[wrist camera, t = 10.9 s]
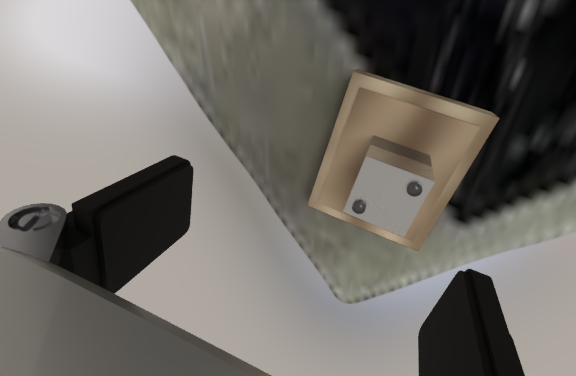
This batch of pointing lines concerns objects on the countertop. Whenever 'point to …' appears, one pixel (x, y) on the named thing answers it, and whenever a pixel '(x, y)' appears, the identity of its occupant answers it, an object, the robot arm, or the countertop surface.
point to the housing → (390, 186)
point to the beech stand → (405, 131)
